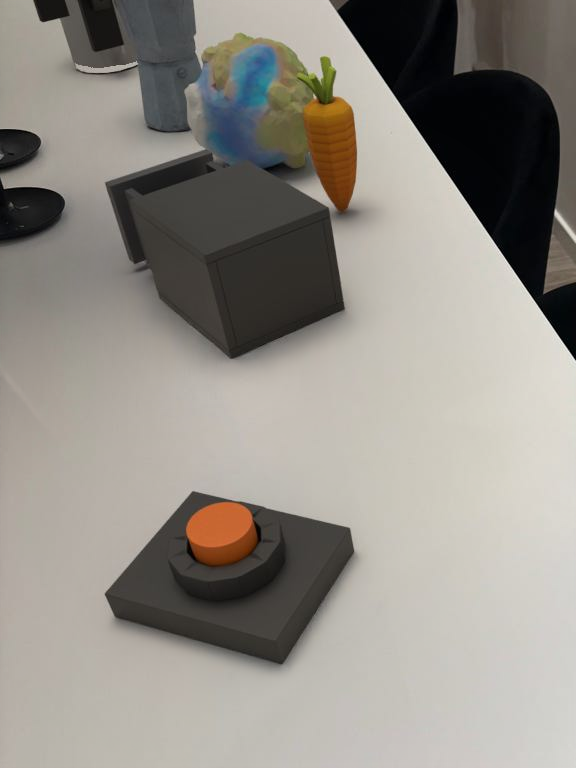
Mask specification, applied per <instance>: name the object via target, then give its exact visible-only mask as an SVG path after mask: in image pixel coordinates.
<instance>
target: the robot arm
mask: <svg viewBox="0 0 576 768" xmlns="http://www.w3.org/2000/svg"><path fill="white" fill-rule="evenodd" d="M32 1H33V5H34V7H35V10H36V13H37V17H38V19H39V22H41V23H46V22H50V21H51V22H52V21H55V20H60V18H63V17H68V16H70V15H69V11H68V8H67V5H66V2H65V0H32ZM77 1H78V4H79V8H80V11H81V14H82V18H83V21H84V24H85V28H86V31H87V34H88V38H89V41H90V44H91V48H92V50H93V51H94V52H99V51H103V50H106V49H110V48H114V47H118V46H122V45H124V42H123V38H122V35H121V31H120V27H119V24H118V20H117V16H116V13H115V9H114V6H113V2H112V0H77Z"/></svg>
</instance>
